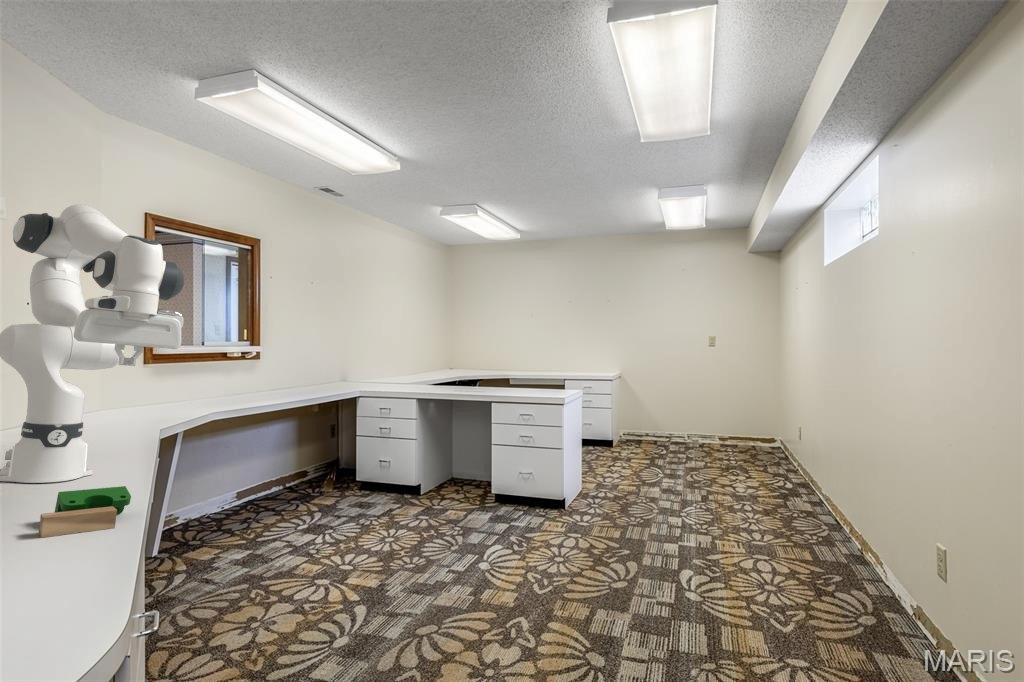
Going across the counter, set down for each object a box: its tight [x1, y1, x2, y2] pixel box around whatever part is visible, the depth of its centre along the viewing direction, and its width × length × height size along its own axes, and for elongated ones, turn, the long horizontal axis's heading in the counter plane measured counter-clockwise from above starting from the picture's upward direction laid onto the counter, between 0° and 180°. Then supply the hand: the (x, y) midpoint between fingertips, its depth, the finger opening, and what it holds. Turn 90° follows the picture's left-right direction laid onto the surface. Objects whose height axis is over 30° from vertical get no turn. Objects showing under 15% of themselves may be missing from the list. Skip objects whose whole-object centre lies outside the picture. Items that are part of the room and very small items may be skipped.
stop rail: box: [38, 506, 118, 539], centre depth 102 cm, size 3×11×4 cm, turn 140°
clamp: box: [54, 485, 132, 515], centre depth 109 cm, size 12×6×9 cm, turn 133°
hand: (126, 365), depth 122 cm, fingers closed
